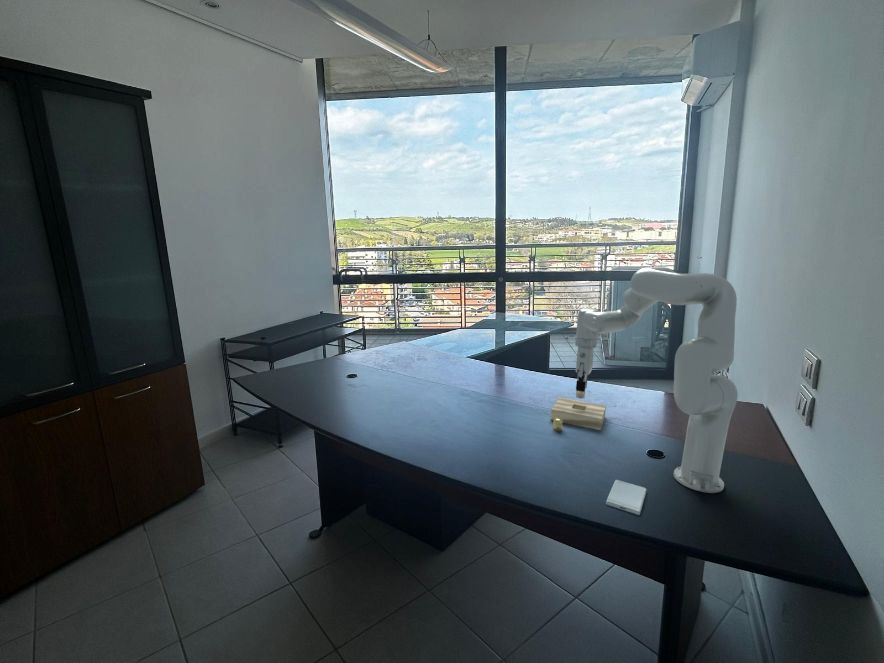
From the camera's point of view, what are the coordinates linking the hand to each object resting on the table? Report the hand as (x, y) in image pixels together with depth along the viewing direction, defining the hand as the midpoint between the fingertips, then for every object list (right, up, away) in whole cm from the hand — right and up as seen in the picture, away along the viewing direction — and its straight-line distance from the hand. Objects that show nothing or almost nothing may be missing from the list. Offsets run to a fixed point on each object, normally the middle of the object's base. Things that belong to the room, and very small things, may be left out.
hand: (581, 388), depth 165 cm
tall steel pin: (0, -3, +1) cm, 3 cm away
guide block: (0, -12, +3) cm, 12 cm away
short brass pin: (-11, -14, -8) cm, 19 cm away
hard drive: (-3, -23, -48) cm, 53 cm away
